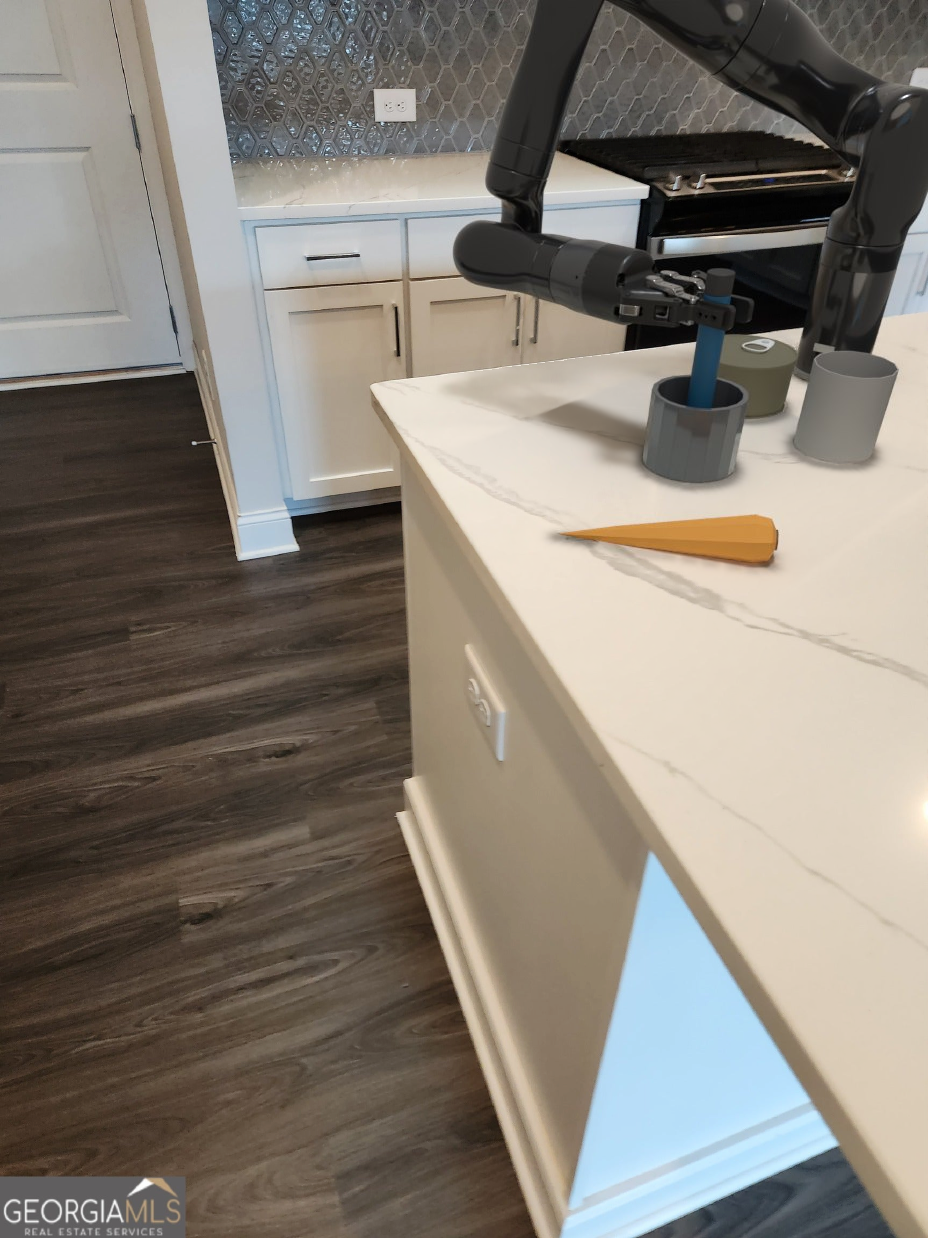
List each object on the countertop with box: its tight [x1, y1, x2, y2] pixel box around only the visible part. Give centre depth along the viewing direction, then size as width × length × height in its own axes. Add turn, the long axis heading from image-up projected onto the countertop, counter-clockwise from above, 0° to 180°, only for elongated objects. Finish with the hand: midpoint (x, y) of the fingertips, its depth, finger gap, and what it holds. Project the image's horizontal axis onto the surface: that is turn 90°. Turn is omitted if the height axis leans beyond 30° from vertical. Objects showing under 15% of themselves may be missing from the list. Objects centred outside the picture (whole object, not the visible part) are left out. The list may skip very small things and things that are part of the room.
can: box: [717, 333, 798, 420], centre depth 103 cm, size 12×12×7 cm
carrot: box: [557, 514, 780, 563], centre depth 77 cm, size 20×4×4 cm, turn 77°
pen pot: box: [642, 374, 749, 484], centre depth 88 cm, size 10×10×8 cm
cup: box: [793, 351, 900, 465], centre depth 91 cm, size 8×8×10 cm
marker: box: [686, 267, 736, 408], centre depth 84 cm, size 3×3×18 cm
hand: (741, 315), depth 79 cm, fingers closed on marker, 2 cm apart
